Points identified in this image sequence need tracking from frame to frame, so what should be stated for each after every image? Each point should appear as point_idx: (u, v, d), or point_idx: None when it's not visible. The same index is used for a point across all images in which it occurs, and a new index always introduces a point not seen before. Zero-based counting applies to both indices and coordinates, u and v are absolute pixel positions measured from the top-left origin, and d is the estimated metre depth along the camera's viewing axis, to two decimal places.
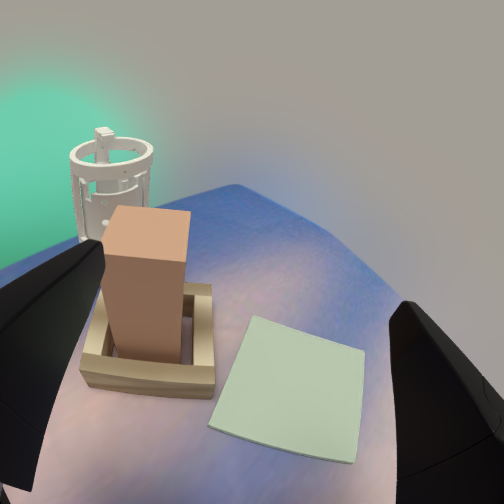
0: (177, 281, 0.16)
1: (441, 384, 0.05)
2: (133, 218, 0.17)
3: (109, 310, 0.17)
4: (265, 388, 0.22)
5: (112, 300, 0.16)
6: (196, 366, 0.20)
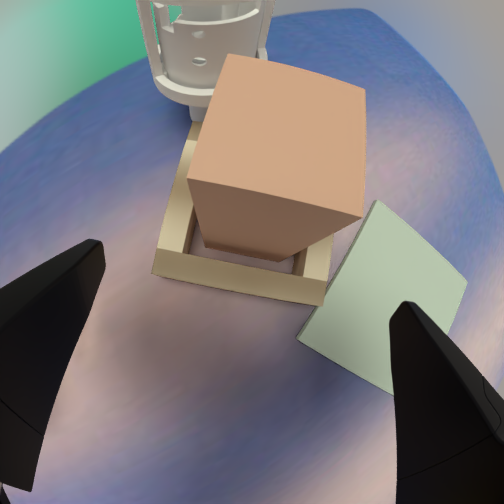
0: (332, 225, 0.09)
1: (441, 384, 0.05)
2: (262, 88, 0.08)
3: (203, 221, 0.12)
4: (368, 303, 0.19)
5: (211, 216, 0.11)
6: (306, 279, 0.17)
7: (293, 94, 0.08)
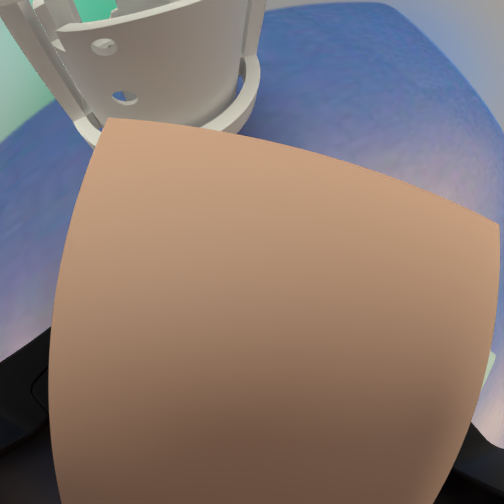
0: None
1: None
2: (213, 291, 0.02)
3: None
4: None
5: None
6: None
7: (329, 303, 0.02)
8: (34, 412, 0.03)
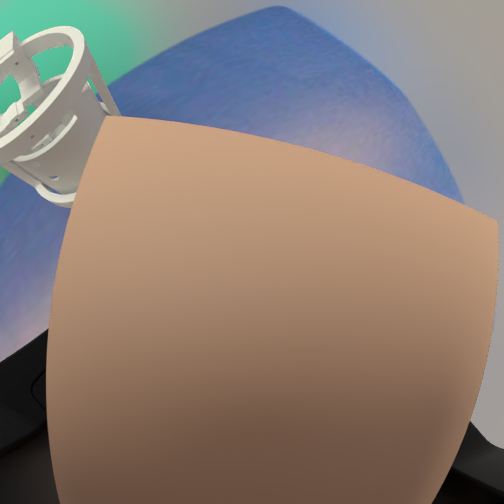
0: None
1: None
2: (211, 287, 0.02)
3: None
4: None
5: None
6: None
7: (326, 299, 0.02)
8: (34, 411, 0.03)
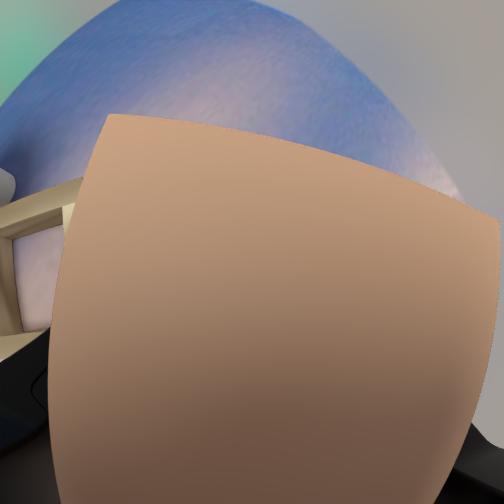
0: None
1: None
2: (215, 286, 0.02)
3: None
4: None
5: None
6: None
7: (331, 298, 0.02)
8: (34, 412, 0.03)
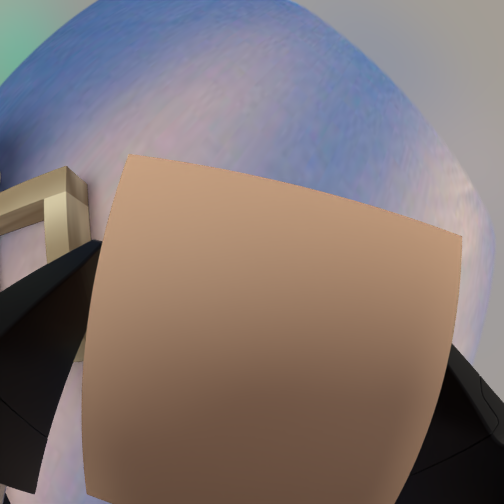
0: None
1: None
2: (215, 293, 0.03)
3: None
4: None
5: None
6: None
7: (303, 302, 0.03)
8: None
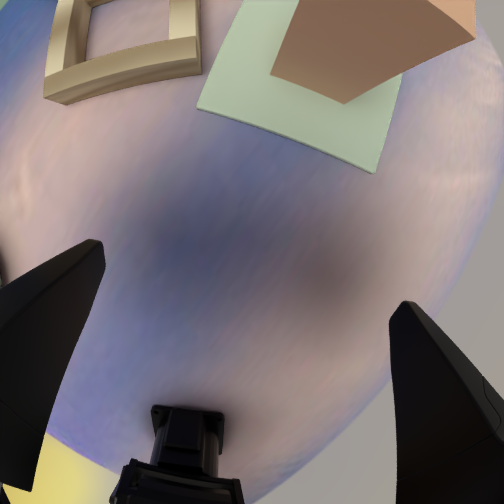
0: (441, 43, 0.06)
1: (441, 384, 0.05)
2: None
3: (297, 21, 0.08)
4: (271, 57, 0.15)
5: (312, 12, 0.07)
6: (172, 40, 0.12)
7: None
8: None
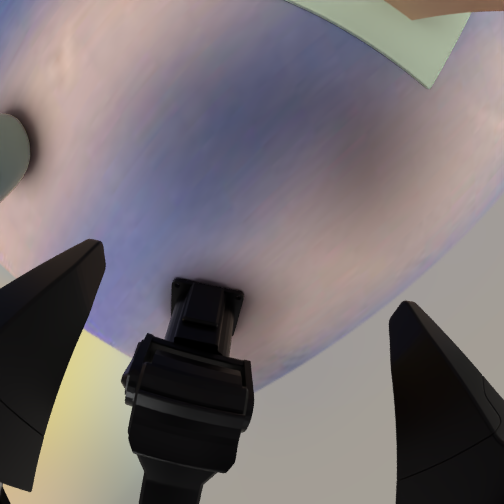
0: None
1: (441, 384, 0.05)
2: None
3: None
4: None
5: None
6: None
7: None
8: None
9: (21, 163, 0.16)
